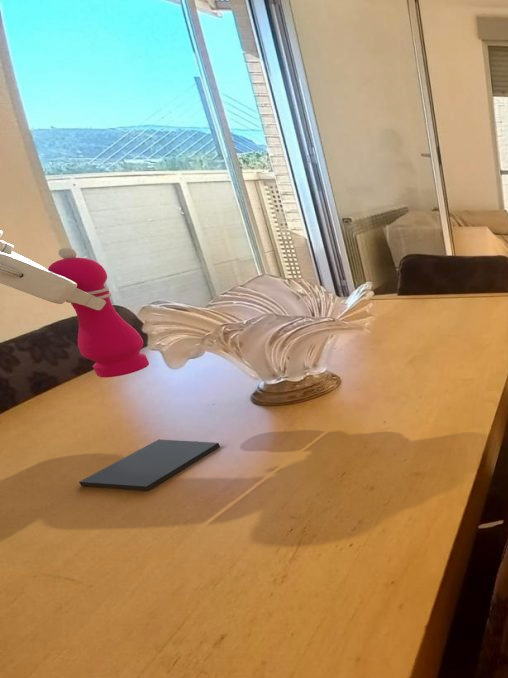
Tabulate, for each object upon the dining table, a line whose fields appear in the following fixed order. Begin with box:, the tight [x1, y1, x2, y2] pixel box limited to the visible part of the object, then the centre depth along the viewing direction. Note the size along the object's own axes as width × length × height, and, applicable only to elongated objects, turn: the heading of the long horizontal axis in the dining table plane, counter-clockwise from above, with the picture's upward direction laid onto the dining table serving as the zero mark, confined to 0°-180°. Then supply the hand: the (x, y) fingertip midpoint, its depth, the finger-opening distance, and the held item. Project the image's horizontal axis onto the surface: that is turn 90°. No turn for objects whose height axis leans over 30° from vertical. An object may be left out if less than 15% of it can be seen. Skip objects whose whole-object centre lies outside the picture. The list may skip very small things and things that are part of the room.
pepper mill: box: [47, 247, 150, 379], centre depth 74 cm, size 7×7×20 cm
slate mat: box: [78, 438, 221, 492], centre depth 77 cm, size 12×12×1 cm
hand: (97, 302), depth 74 cm, fingers closed on pepper mill, 5 cm apart
